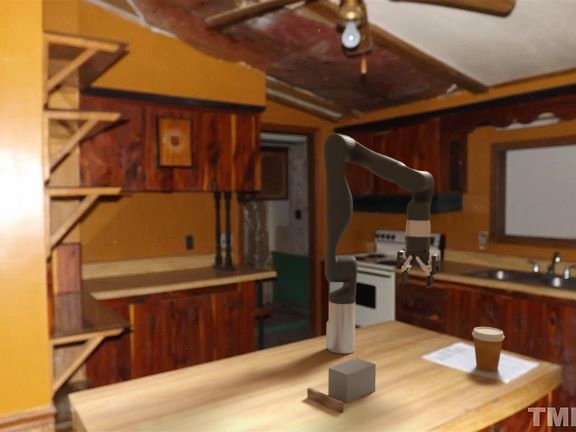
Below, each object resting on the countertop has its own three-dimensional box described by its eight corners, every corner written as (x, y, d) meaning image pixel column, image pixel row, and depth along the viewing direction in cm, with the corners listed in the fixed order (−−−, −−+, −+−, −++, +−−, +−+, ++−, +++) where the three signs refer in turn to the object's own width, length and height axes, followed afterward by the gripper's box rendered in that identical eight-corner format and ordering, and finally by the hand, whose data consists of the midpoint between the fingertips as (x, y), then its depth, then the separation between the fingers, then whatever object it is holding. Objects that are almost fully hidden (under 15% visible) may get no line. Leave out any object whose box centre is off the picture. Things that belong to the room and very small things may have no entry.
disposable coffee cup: (502, 364, 158) (503, 328, 157) (504, 375, 149) (506, 336, 148) (470, 361, 161) (471, 325, 160) (471, 371, 152) (472, 333, 151)
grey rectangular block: (328, 394, 133) (328, 367, 133) (356, 383, 141) (356, 357, 141) (347, 403, 128) (347, 374, 128) (375, 390, 136) (375, 364, 136)
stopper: (307, 397, 132) (307, 388, 131) (309, 396, 132) (310, 387, 132) (340, 413, 123) (340, 403, 123) (343, 411, 123) (343, 402, 123)
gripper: (392, 233, 156) (391, 283, 157) (431, 237, 145) (430, 290, 146) (405, 232, 161) (404, 280, 162) (444, 235, 151) (443, 287, 151)
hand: (416, 285), depth 154 cm, fingers open, 8 cm apart
